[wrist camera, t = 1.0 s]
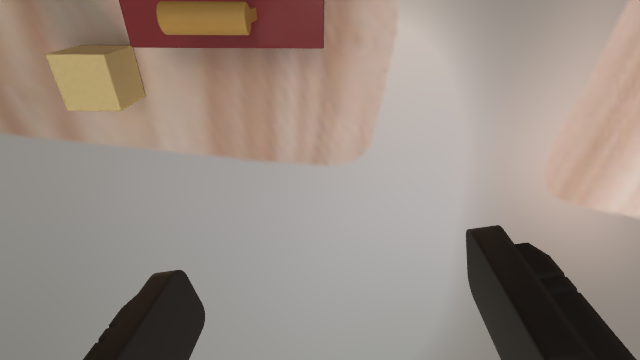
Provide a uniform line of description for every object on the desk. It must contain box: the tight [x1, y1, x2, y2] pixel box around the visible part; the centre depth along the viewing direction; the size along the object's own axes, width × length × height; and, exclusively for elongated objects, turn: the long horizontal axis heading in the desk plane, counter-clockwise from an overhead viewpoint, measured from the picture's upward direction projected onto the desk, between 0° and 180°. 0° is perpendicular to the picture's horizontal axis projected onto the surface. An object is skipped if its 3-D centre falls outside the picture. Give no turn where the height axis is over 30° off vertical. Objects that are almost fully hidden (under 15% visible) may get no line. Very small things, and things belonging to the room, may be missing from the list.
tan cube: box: [45, 45, 145, 111], centre depth 26 cm, size 4×4×4 cm
